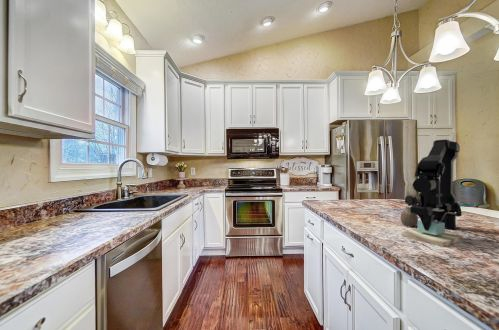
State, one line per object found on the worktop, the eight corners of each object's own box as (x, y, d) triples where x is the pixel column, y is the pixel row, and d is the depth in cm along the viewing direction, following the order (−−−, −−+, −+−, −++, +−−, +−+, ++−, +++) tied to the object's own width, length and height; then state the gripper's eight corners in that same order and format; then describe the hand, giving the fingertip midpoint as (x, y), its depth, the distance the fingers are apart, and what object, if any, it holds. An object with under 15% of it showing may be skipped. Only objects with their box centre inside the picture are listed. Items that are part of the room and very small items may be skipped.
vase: (421, 228, 101) (421, 209, 101) (404, 227, 103) (404, 208, 103) (413, 224, 108) (413, 206, 108) (397, 223, 110) (397, 206, 110)
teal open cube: (444, 232, 87) (444, 221, 87) (436, 235, 84) (436, 224, 84) (426, 228, 92) (425, 218, 92) (417, 230, 90) (417, 220, 90)
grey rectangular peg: (427, 232, 90) (427, 218, 90) (437, 235, 87) (437, 220, 87) (425, 233, 89) (425, 218, 89) (435, 235, 86) (435, 220, 86)
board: (421, 230, 98) (421, 227, 98) (462, 240, 85) (462, 236, 85) (401, 235, 91) (401, 232, 91) (443, 246, 78) (443, 242, 78)
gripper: (420, 187, 99) (421, 221, 99) (395, 190, 91) (396, 227, 91) (451, 190, 89) (452, 227, 89) (426, 193, 81) (427, 234, 81)
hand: (431, 229), depth 88 cm, fingers closed on teal open cube, 6 cm apart
